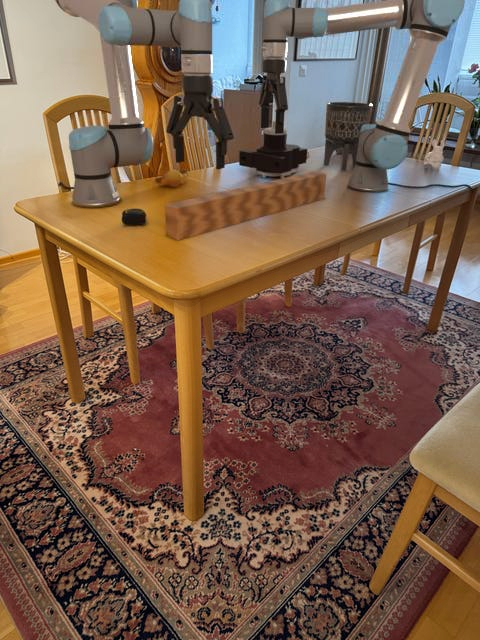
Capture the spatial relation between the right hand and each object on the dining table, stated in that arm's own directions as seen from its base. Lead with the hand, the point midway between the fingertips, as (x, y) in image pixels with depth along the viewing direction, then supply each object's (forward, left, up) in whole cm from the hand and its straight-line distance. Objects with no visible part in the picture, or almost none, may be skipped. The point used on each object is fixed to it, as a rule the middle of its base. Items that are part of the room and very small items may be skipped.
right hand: (271, 130), depth 154 cm
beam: (+4, +24, -22) cm, 33 cm away
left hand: (+19, +42, -4) cm, 46 cm away
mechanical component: (-5, -36, -22) cm, 43 cm away
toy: (+36, -9, -22) cm, 43 cm away
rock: (-41, -91, -22) cm, 102 cm away
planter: (-33, -54, -22) cm, 67 cm away
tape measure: (+38, +39, -22) cm, 59 cm away
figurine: (-75, -57, -22) cm, 96 cm away
